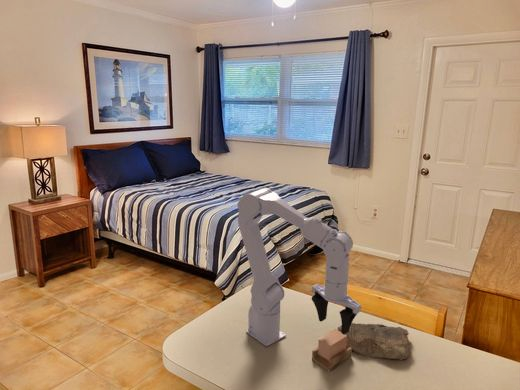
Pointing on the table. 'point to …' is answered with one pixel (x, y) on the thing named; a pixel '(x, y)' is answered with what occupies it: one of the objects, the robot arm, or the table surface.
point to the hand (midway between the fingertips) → (333, 326)
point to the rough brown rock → (378, 340)
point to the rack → (333, 362)
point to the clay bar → (332, 344)
